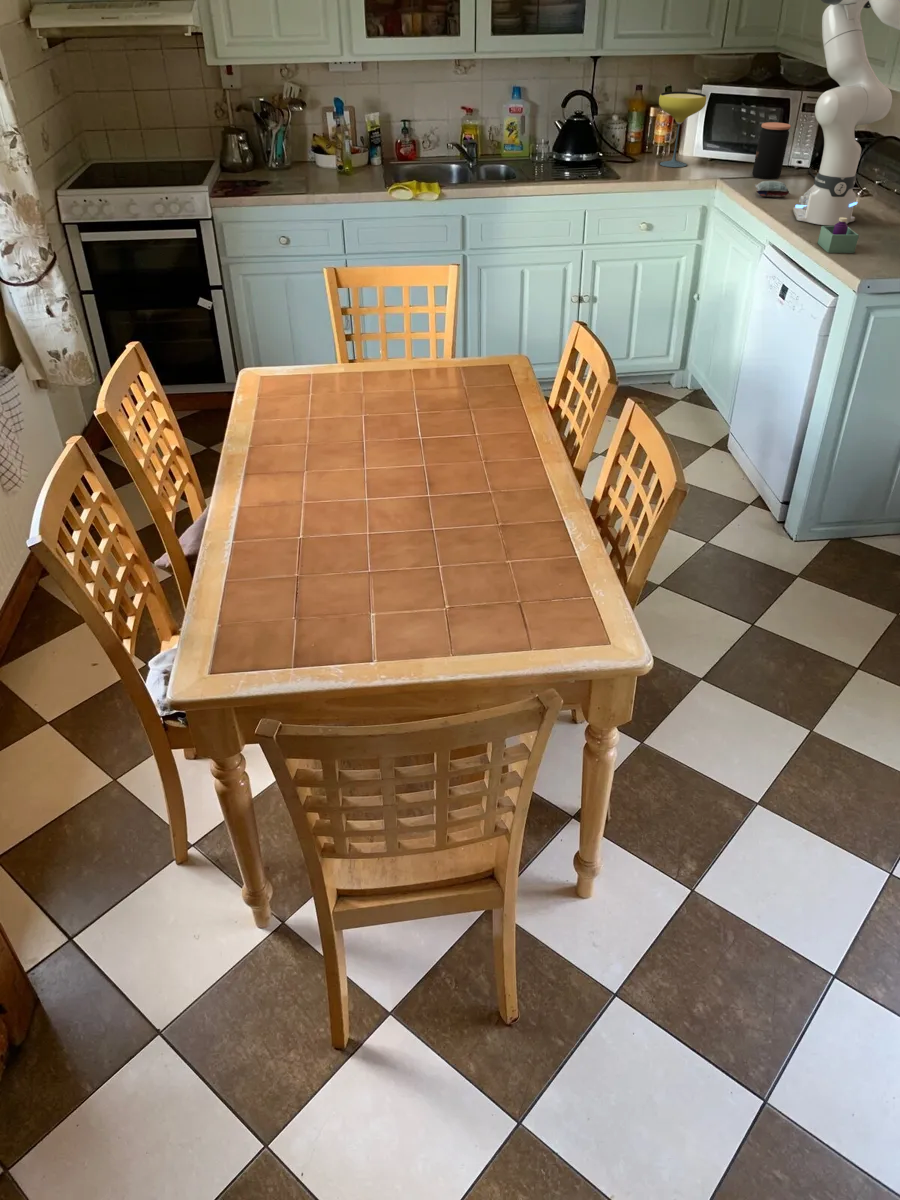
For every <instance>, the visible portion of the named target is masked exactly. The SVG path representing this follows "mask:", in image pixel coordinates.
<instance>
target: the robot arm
mask: <svg viewBox="0 0 900 1200" xmlns="http://www.w3.org/2000/svg"><path fill="white" fill-rule="evenodd" d="M820 1H821V2H822V3H823V4H826V5H828V6H827V7H826V8H825V9H824V11H823V13H822V17H821V35H822V45H823V52H824V58H825V64H826V65H825V66H826V70H827V74H828V76H829V77H830V78H831V79H832V80H834V81H835V82H836V83H837V84H838V85H839V86H837V87H833V88H831V89H828V90H826V91H824V92H823V93H821V94H820V96H819V97H818V99H817V100H816V101H817V102H816V103H815V106H814V107H815V108H814V116H815V119H816V121H817V123H818V124H819V126H820V127H821V129H822V133H823V150H822V156H821V161H820V164H819V165H818V166H816V167H817V168H819V170H818V172H817V174H816V175H815V174H814V173H813V172H812V170H813V168H814V167H812V166H811V167H812V168H811V167H810V168H809V169H808V173H809V174H810V176H811V177H812V178H814V181H813V185H812V186H811V187H810V188H808V189H807V190H806V191H805V192H804V193H803V195H800V196H799V201H798V203H799V204H795V206H793V208H792V211H793V214H794V217H795V219H796V221H799V222H804V223H805V222H806V223H810V224H815V225H819V226H820V225H821V226H835V224H837V223H838V222H839V218H840V217H845V218H847V221H846V224H847V225H848V224H849V223H852V222H854V221H856V217H855V216H853V211H854V206H856V205H857V204H858V201H856V196H857V195H856V194H857V193H855V192H854V190H853V189H854V187H855V183H856V179H857V169H858V165H859V162H860V158H861V153H862V147H861V145H860V143H859V142H858V141H857V140H856V136H855V135H856V134H855V133H856V132H855V131H856V130H855V129H856V126H862V125H865V126H866V125H870V124H873V123H875V122H879V121H880V120H883V119H884V118H885V117H886V116H887V115H888V114H889V113H890V110H891V107H892V104H893V94H892V92H891V90H890V89H889V87H887V86H886V85H884V84H883V82H881V80H879V78H878V77H877V74H876V72H874V69H873V68H872V66H871V64H870V61H869V57H868V53H867V49H866V44H865V39H864V32H863V27H862V21H861V14H862V11H863V8H864V9H870V8H871V9H872V11H873V13H874V14H875V16H876V17H877V18H878V19H879V21H880V22H881V23H883V24H884V25H886V26H888V27H890V28H893V29H895V30H898V31H900V0H820Z"/></svg>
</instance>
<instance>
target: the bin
mask: <svg viewBox="0 0 900 1200" xmlns="http://www.w3.org/2000/svg"><path fill="white" fill-rule="evenodd" d="M834 226H835V225H821V227H820V231H819V234H818V239H817V245H818V246H819V247H821V248H822V249H823V250H824V251H825V252H826V253H828V254H855V251H856V248H857V244H858V240H859V237H860V234H858V233H857V232H855V231H854V230H853V229H852V228H850V227H849V226H848V229H847V233H846V235H833V230H834Z"/></svg>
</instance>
